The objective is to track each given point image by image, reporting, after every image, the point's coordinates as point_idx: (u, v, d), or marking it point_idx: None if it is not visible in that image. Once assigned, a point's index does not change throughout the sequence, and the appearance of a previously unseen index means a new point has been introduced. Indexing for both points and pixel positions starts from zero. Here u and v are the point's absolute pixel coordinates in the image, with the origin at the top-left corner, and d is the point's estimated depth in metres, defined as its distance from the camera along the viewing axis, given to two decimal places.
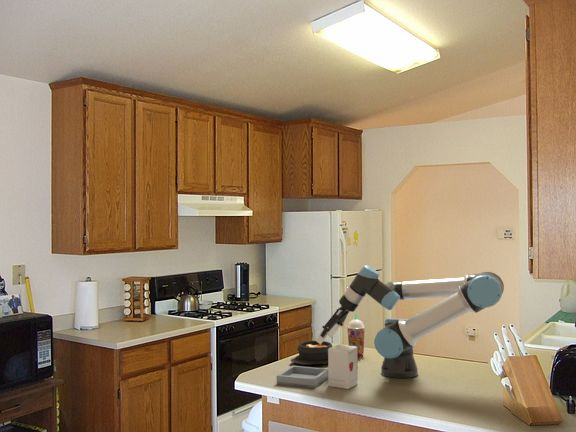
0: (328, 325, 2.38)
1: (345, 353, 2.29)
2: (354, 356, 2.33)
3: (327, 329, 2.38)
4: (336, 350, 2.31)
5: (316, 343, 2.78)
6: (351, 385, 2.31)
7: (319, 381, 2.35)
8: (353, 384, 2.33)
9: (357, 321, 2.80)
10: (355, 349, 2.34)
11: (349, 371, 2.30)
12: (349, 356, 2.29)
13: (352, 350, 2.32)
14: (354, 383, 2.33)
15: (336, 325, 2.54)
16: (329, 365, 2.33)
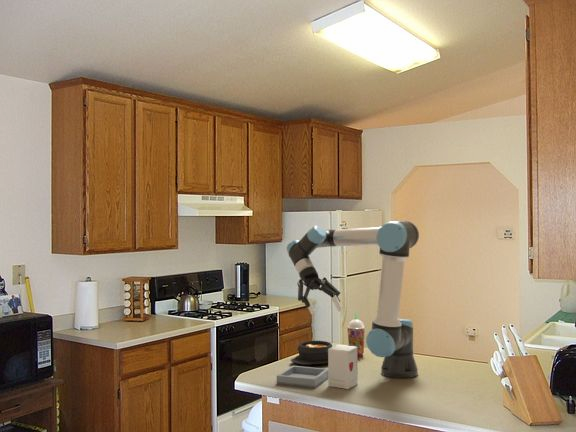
0: (299, 294, 2.44)
1: (345, 353, 2.29)
2: (354, 356, 2.33)
3: (299, 296, 2.42)
4: (336, 350, 2.31)
5: (316, 343, 2.78)
6: (351, 385, 2.31)
7: (319, 381, 2.35)
8: (353, 384, 2.33)
9: (357, 321, 2.80)
10: (355, 349, 2.34)
11: (349, 371, 2.30)
12: (349, 356, 2.29)
13: (352, 350, 2.32)
14: (354, 383, 2.33)
15: (334, 298, 2.50)
16: (329, 365, 2.33)
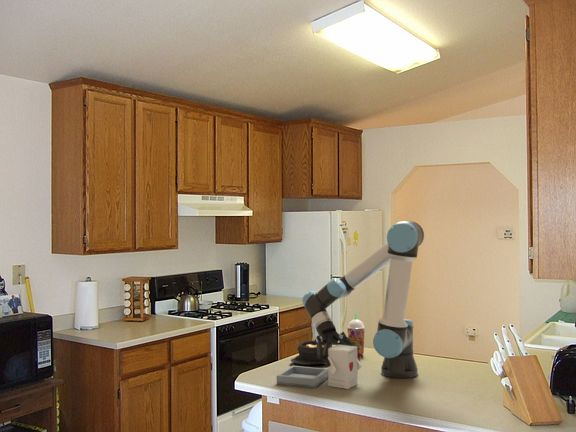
0: (318, 353, 2.33)
1: (345, 353, 2.29)
2: (354, 356, 2.33)
3: (319, 355, 2.32)
4: (336, 350, 2.31)
5: None
6: (351, 385, 2.31)
7: (319, 381, 2.35)
8: (353, 384, 2.33)
9: (357, 321, 2.80)
10: (355, 349, 2.34)
11: (349, 371, 2.30)
12: (349, 356, 2.29)
13: (352, 350, 2.32)
14: (354, 383, 2.33)
15: None
16: None
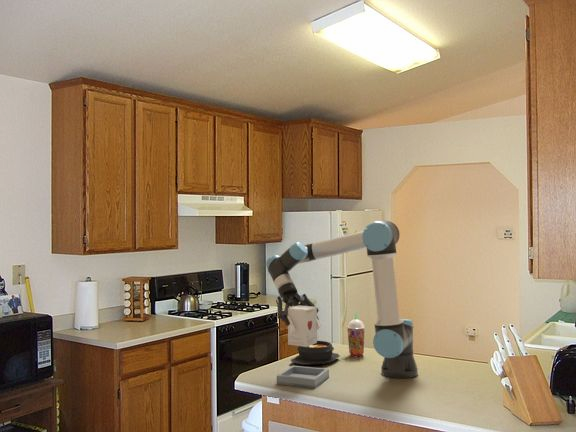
0: (278, 312, 2.40)
1: (304, 312, 2.36)
2: (313, 315, 2.40)
3: (279, 314, 2.39)
4: (295, 309, 2.38)
5: (316, 343, 2.78)
6: (310, 343, 2.38)
7: (319, 381, 2.35)
8: (312, 343, 2.39)
9: (357, 321, 2.80)
10: (314, 309, 2.41)
11: (307, 329, 2.36)
12: (307, 314, 2.36)
13: (311, 309, 2.39)
14: (313, 342, 2.40)
15: None
16: None
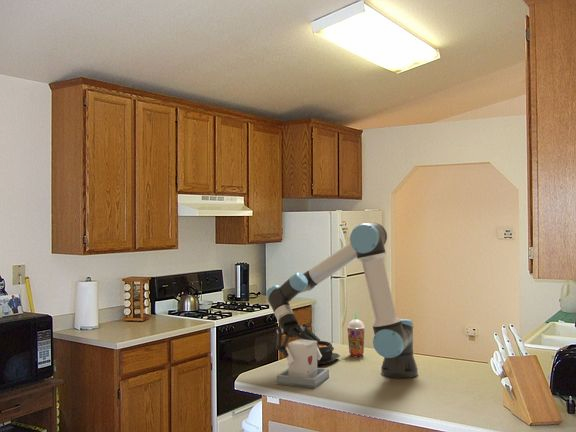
0: (277, 344, 2.40)
1: (304, 347, 2.36)
2: (313, 350, 2.40)
3: (278, 346, 2.39)
4: (295, 344, 2.38)
5: None
6: None
7: (319, 381, 2.35)
8: (312, 377, 2.39)
9: (357, 321, 2.80)
10: (315, 343, 2.41)
11: (308, 364, 2.36)
12: (307, 350, 2.36)
13: (311, 344, 2.39)
14: (313, 376, 2.40)
15: None
16: None
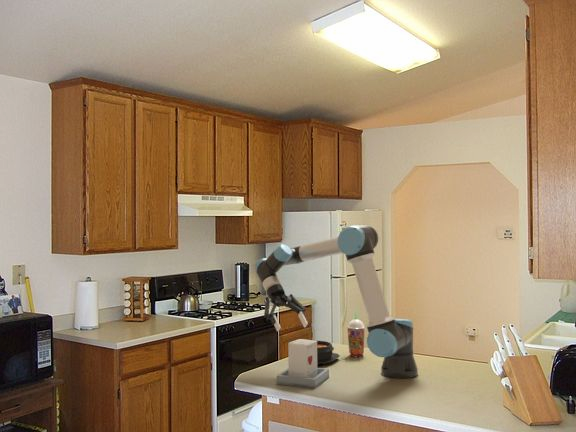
0: (265, 312, 2.52)
1: (304, 347, 2.36)
2: (313, 350, 2.40)
3: (265, 313, 2.50)
4: (296, 344, 2.38)
5: None
6: None
7: (319, 381, 2.35)
8: (312, 377, 2.39)
9: (357, 321, 2.80)
10: (315, 343, 2.41)
11: (308, 364, 2.36)
12: (307, 350, 2.36)
13: (311, 344, 2.39)
14: (313, 376, 2.40)
15: (299, 314, 2.58)
16: (289, 359, 2.40)
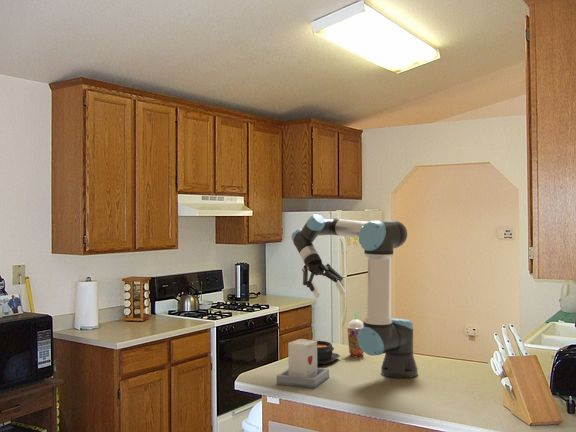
0: (304, 279, 2.57)
1: (304, 347, 2.36)
2: (313, 350, 2.40)
3: (304, 281, 2.55)
4: (296, 344, 2.38)
5: None
6: None
7: (319, 381, 2.35)
8: (312, 377, 2.39)
9: (357, 321, 2.80)
10: (315, 343, 2.41)
11: (308, 364, 2.36)
12: (307, 350, 2.36)
13: (311, 344, 2.39)
14: (313, 376, 2.40)
15: (337, 283, 2.63)
16: (289, 359, 2.40)
